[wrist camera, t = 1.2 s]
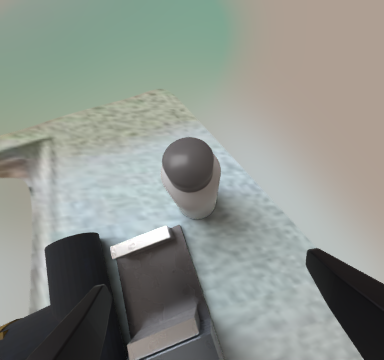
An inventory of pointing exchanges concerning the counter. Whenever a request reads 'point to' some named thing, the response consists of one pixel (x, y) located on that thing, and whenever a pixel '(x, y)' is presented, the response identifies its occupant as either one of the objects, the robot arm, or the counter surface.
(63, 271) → the pipe connector
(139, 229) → the counter surface
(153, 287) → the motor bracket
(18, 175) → the counter surface
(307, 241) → the counter surface
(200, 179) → the grey domed cylinder
